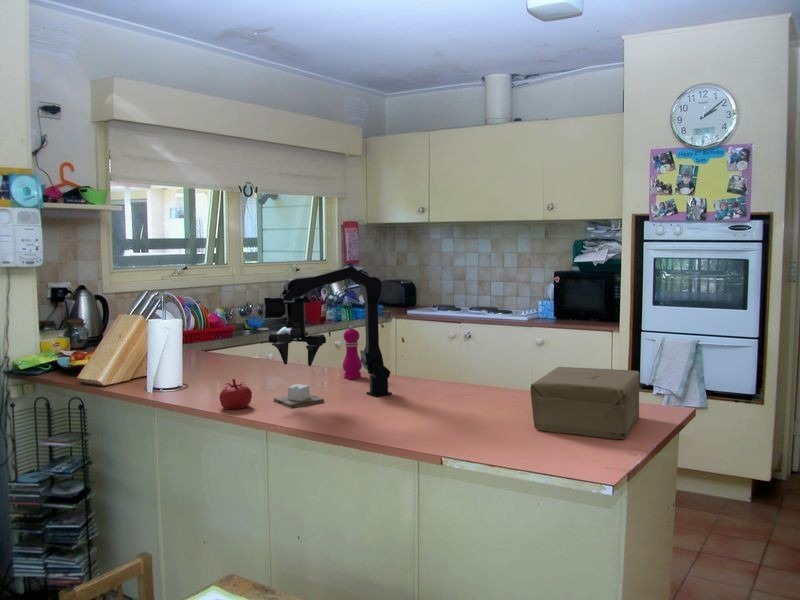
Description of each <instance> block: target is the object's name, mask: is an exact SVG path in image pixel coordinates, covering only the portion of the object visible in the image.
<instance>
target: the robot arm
mask: <svg viewBox="0 0 800 600" xmlns="http://www.w3.org/2000/svg"><path fill="white" fill-rule="evenodd" d="M344 280H350V281H352V283H355V284H356V285H358V286H359V287H360V291H361V295H362V299H363V302H364V317H365V318H364V320H365V346H364V349H363V350H360V351H359V353H360V362H361V363H362V367H363V368H364V369H365V370H366V371H367V373H368V375H369V391H366V395H370V396H373V397H377V398H378V397H383V396H387V395H388V396H389V395H393V392H392V391H389V378H390V376H391V371H390V370H389V368H387V367H386V366H385V365H384V359H383V354H382V351H381V347H380V339H379V338H380V337H379V334H380V333H379V302H380V299H381V297H382V296H381V295H382V289H383V283H382V281H381V280H380V278H379V277H376V276H372V275H367V274H366V273H364V272H362V271H360V270H359V269H357V268H355V266H352V265H351V266H350V265H346V266H344V267H341V268H337V269H334V270H330V271H327V272H323V273H319V274H316V275H312V276H298V277H290V278H289V279H287V280H286V282H285V283H284V285H285V286H284V290H283V291H282V293H280V295H279V296H278V297H267V296H265V297H263V302H262V303H263V305H262V315H263V319H264V320H268V319H282V318H283V316H285V315H286V318H287V319H286V320H285V321H284V326H283V327H281V328H280V329H279V330H278V331H277V332H273V333H269V335H268V337H267V340H268V341H267V342H268V343H269V344H271V346H273V347H275V348H276V349H277V350H278V353H279V355H280V357H281V360H282V361H283V364H284V365H287V364H288V360H289V345H290V344H291V343H292V342H297V343H298V342H301V343H306V344H307V345H305V348H306V350H307V364H308V365H307V366H308V367H312V365H313V362H314V359H315V357H316V355H317V353H318V350H319V349H320V347H322V346H323V345H324V344H326V343H327V337H326V336H325V334H322V333H321V334H320V333H313V334H310V335H309V333H308V331H306V324H307V323H308V319H306V305H305V304H309V303H311V302H312V301H311V299H309V298H308V297H307V295H305V294H307V293H309V292H311V291H313V290H315V289H317V288H319V287H320V288H321V287H323V286H328V285H331V284H334V283H338V282H342V281H344Z"/></svg>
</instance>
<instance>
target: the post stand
mask: <svg viewBox="0 0 800 600" xmlns="http://www.w3.org/2000/svg"><path fill="white" fill-rule="evenodd" d="M273 401H274V402H275V401H276V402H275V403H277V402H279V403H278V404H280V403H281V404H280V405H282V404H284V405H283V406H285V405H286V407H287V406H288V407H287V408H290V407H293V408H298V407H297V406H299V407H304V405H305V406H310V405H315V404H321V403H324V402H325V398H322V397H319V396H316V395H313V394H311V393H310V398H307V399H305V400H302V401H298V400H289V399H288V395H285V396H278V397H273Z"/></svg>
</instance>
